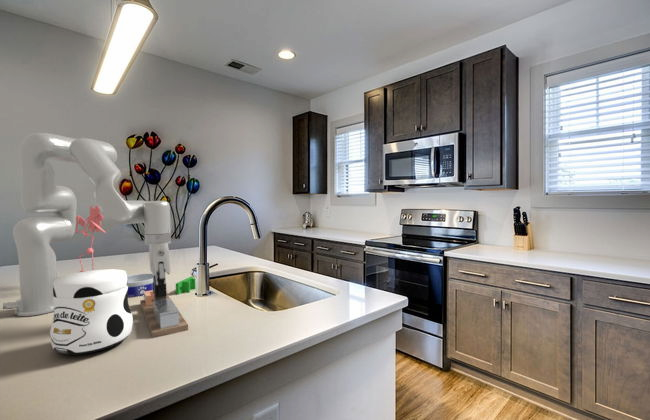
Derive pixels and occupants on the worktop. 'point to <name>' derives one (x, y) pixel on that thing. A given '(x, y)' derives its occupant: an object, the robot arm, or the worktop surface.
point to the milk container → (90, 311)
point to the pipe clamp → (186, 285)
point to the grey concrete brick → (166, 313)
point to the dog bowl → (139, 284)
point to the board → (153, 322)
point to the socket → (150, 297)
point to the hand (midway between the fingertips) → (159, 294)
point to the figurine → (93, 222)
